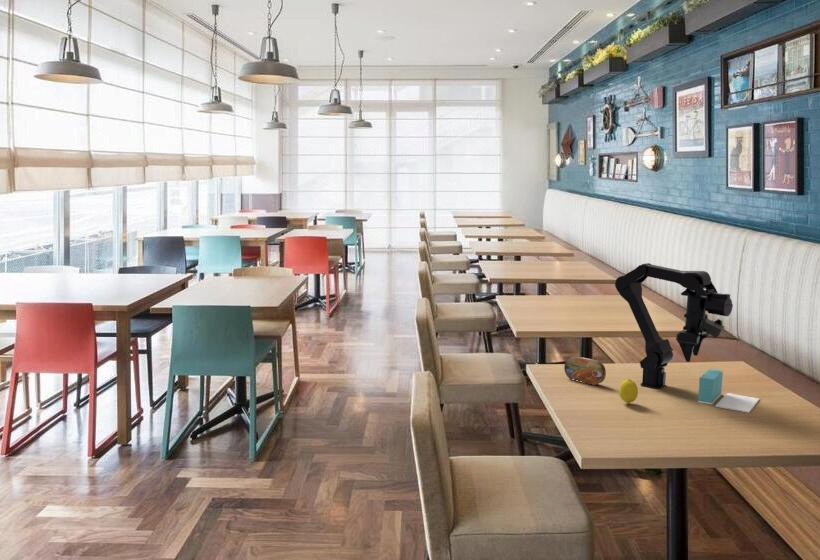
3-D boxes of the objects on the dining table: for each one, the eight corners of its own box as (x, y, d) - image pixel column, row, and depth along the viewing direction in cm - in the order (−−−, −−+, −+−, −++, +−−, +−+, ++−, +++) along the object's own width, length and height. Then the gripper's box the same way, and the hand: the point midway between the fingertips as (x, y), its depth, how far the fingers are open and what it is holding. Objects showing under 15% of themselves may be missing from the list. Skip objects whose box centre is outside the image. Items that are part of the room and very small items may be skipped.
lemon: (638, 402, 223) (639, 377, 222) (635, 407, 218) (637, 382, 217) (620, 400, 225) (621, 375, 224) (617, 405, 220) (618, 380, 219)
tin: (563, 378, 249) (564, 354, 248) (568, 376, 251) (569, 353, 250) (601, 387, 238) (602, 363, 237) (606, 385, 240) (607, 361, 239)
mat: (715, 406, 219) (715, 405, 219) (727, 394, 231) (727, 393, 231) (749, 412, 214) (749, 411, 214) (759, 399, 226) (759, 398, 226)
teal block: (698, 402, 224) (699, 377, 223) (708, 392, 233) (709, 368, 232) (711, 404, 221) (713, 379, 220) (721, 394, 231) (722, 370, 230)
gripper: (715, 319, 215) (711, 369, 217) (729, 309, 230) (725, 356, 232) (677, 314, 221) (673, 363, 224) (693, 304, 236) (689, 350, 239)
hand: (691, 358), depth 229 cm, fingers open, 9 cm apart
